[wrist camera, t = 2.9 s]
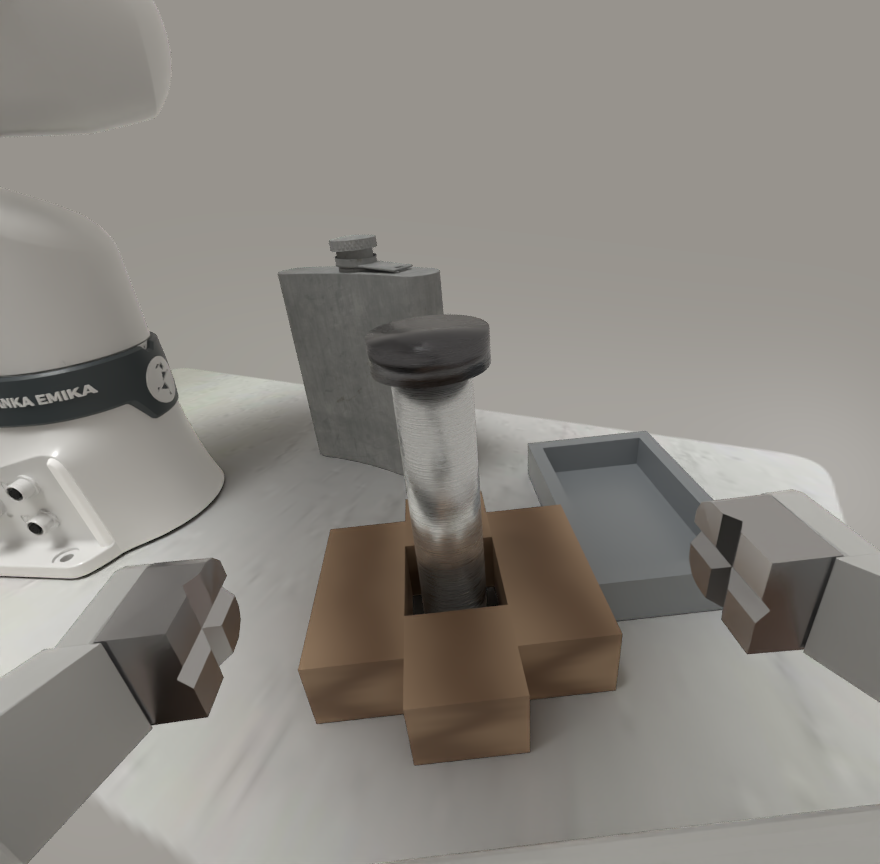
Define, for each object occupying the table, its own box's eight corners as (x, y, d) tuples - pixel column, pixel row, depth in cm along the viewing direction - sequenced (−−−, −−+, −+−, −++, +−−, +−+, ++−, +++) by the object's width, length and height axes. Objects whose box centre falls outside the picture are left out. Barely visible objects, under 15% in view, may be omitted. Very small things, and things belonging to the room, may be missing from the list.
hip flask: (313, 452, 48) (261, 242, 39) (341, 435, 51) (299, 235, 42) (445, 492, 40) (418, 236, 31) (469, 468, 43) (451, 229, 34)
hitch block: (307, 777, 21) (285, 723, 19) (346, 552, 34) (335, 507, 33) (636, 740, 21) (645, 682, 20) (549, 529, 35) (550, 483, 33)
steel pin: (413, 669, 26) (358, 356, 18) (412, 595, 30) (369, 321, 22) (509, 658, 26) (499, 341, 18) (494, 586, 30) (480, 310, 22)
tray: (590, 623, 27) (593, 584, 26) (528, 473, 41) (527, 443, 40) (764, 604, 27) (776, 564, 26) (642, 461, 41) (646, 430, 40)
